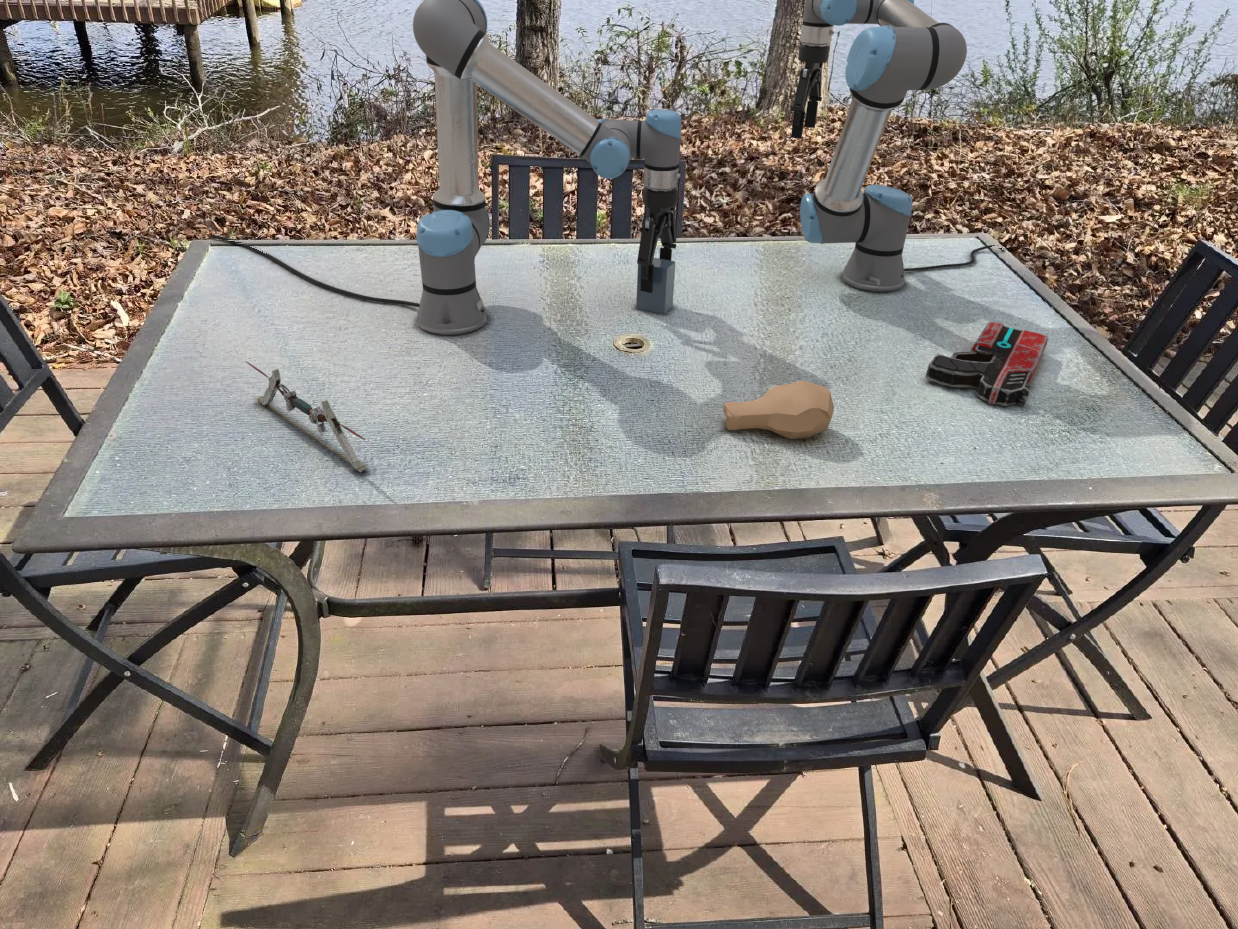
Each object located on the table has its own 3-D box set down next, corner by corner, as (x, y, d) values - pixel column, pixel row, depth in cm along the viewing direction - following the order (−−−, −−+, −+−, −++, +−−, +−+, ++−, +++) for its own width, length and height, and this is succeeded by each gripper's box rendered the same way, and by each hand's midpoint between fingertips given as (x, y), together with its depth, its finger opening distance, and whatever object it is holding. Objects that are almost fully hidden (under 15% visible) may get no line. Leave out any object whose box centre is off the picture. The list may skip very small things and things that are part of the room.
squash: (838, 445, 158) (841, 407, 151) (727, 454, 159) (725, 416, 153) (828, 406, 165) (831, 369, 159) (722, 415, 167) (721, 378, 161)
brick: (636, 308, 206) (637, 263, 199) (644, 300, 210) (646, 256, 203) (664, 314, 203) (667, 268, 197) (672, 306, 207) (675, 261, 201)
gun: (926, 366, 174) (1027, 394, 166) (962, 310, 196) (1054, 333, 188) (920, 386, 177) (1020, 414, 169) (957, 329, 199) (1047, 352, 191)
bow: (376, 475, 146) (368, 423, 140) (367, 479, 145) (359, 428, 139) (259, 394, 167) (248, 347, 162) (250, 398, 166) (238, 350, 160)
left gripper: (656, 203, 181) (651, 303, 193) (695, 176, 198) (688, 269, 210) (623, 197, 183) (620, 297, 196) (664, 171, 201) (659, 264, 213)
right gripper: (817, 52, 209) (804, 144, 220) (840, 38, 228) (828, 124, 239) (787, 49, 211) (776, 140, 223) (812, 36, 230) (801, 121, 242)
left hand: (655, 283), depth 203 cm, fingers open, 10 cm apart
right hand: (802, 132), depth 231 cm, fingers open, 13 cm apart
